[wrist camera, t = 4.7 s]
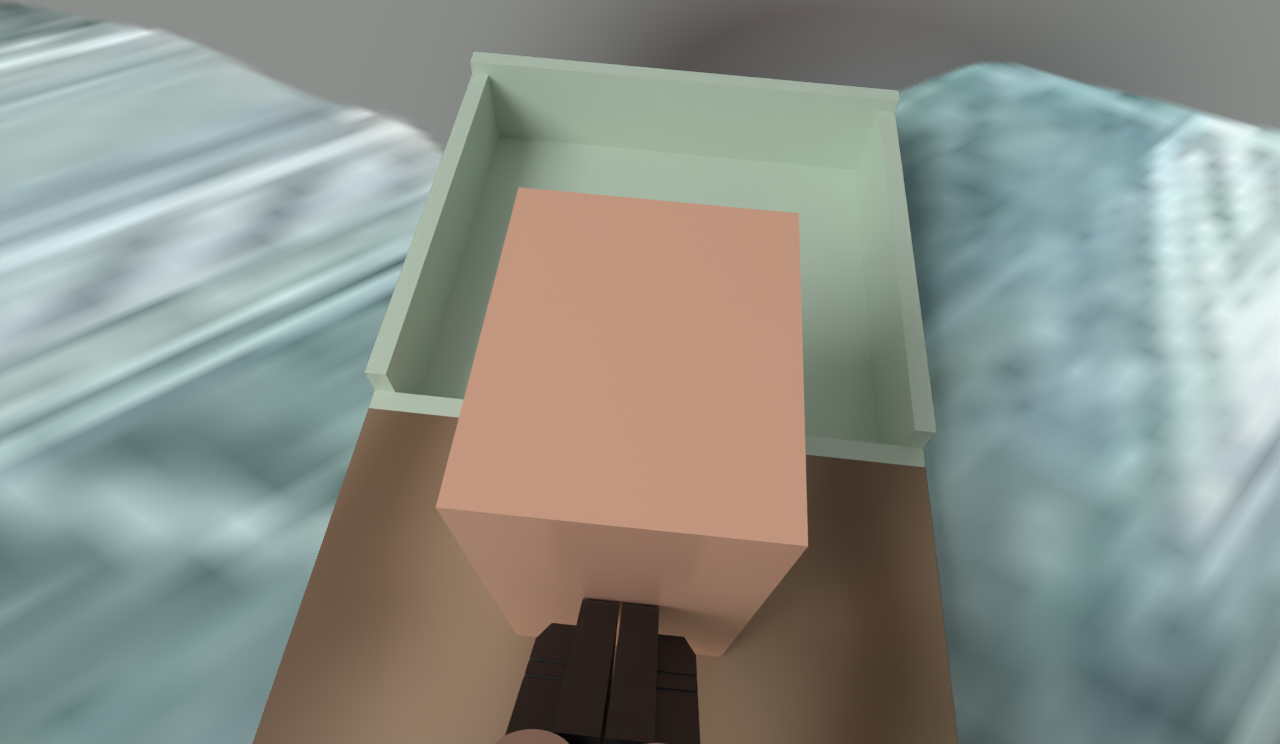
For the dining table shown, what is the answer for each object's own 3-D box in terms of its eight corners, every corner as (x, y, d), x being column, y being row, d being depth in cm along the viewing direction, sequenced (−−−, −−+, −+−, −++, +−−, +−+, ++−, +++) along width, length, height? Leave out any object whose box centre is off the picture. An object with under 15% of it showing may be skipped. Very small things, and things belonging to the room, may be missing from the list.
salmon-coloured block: (728, 435, 20) (798, 213, 12) (720, 657, 17) (808, 546, 9) (555, 417, 20) (518, 187, 12) (517, 635, 17) (436, 507, 9)
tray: (865, 172, 29) (898, 90, 26) (894, 499, 22) (946, 444, 18) (490, 136, 30) (474, 51, 26) (392, 444, 22) (352, 381, 19)
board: (894, 499, 22) (925, 467, 20) (941, 1003, 16) (993, 1036, 14) (392, 444, 22) (368, 407, 20) (243, 915, 16) (186, 933, 14)
